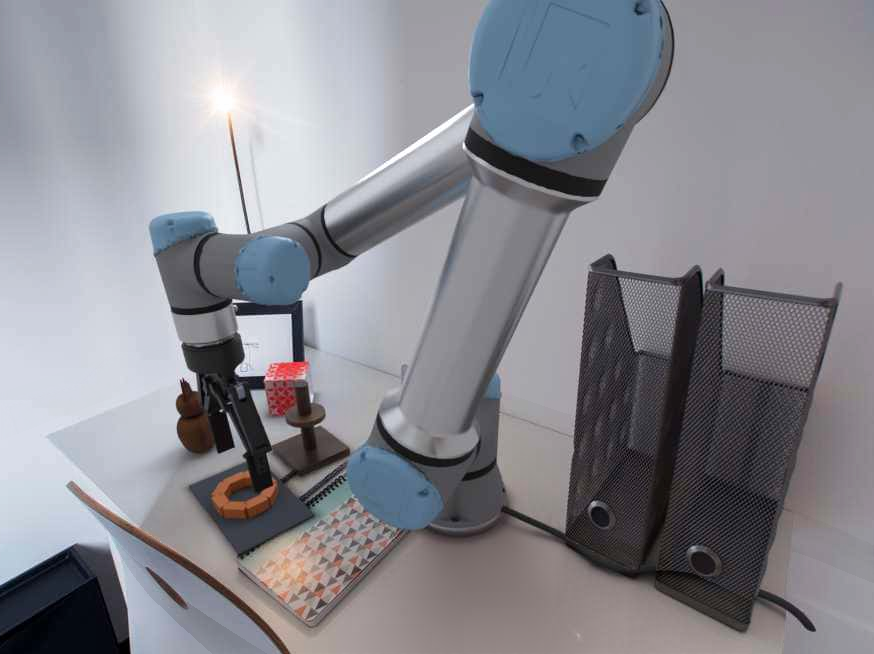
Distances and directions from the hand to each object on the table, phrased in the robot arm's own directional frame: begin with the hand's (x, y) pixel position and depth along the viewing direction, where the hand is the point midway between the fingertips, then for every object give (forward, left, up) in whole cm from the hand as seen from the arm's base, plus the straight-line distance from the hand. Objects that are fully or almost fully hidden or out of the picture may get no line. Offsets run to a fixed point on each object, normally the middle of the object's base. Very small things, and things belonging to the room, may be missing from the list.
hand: (243, 468), depth 80 cm
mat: (0, 0, -7) cm, 7 cm away
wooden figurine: (+20, 0, -7) cm, 22 cm away
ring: (+1, 0, -6) cm, 6 cm away
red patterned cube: (+23, -20, -7) cm, 31 cm away
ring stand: (+5, -14, -7) cm, 16 cm away
